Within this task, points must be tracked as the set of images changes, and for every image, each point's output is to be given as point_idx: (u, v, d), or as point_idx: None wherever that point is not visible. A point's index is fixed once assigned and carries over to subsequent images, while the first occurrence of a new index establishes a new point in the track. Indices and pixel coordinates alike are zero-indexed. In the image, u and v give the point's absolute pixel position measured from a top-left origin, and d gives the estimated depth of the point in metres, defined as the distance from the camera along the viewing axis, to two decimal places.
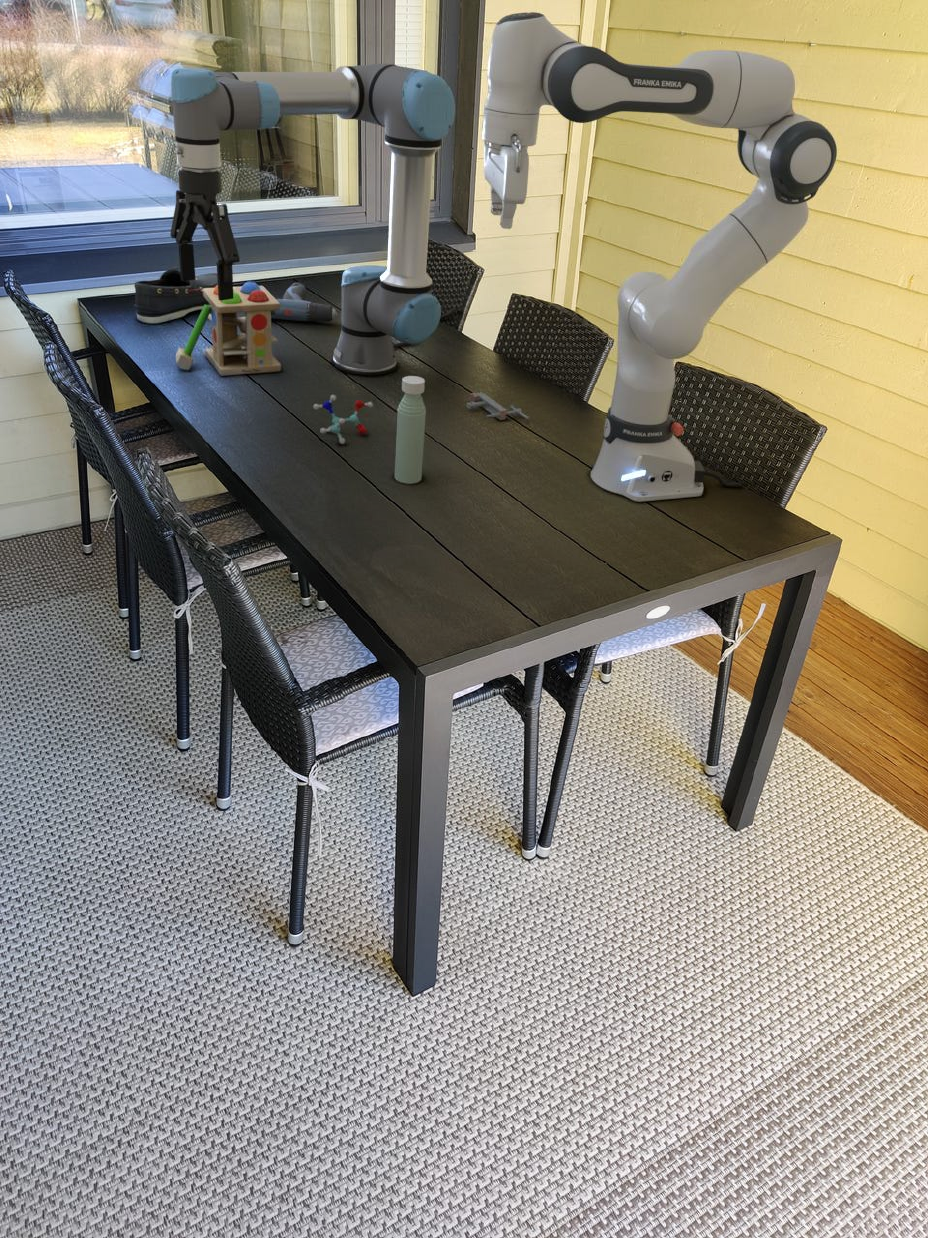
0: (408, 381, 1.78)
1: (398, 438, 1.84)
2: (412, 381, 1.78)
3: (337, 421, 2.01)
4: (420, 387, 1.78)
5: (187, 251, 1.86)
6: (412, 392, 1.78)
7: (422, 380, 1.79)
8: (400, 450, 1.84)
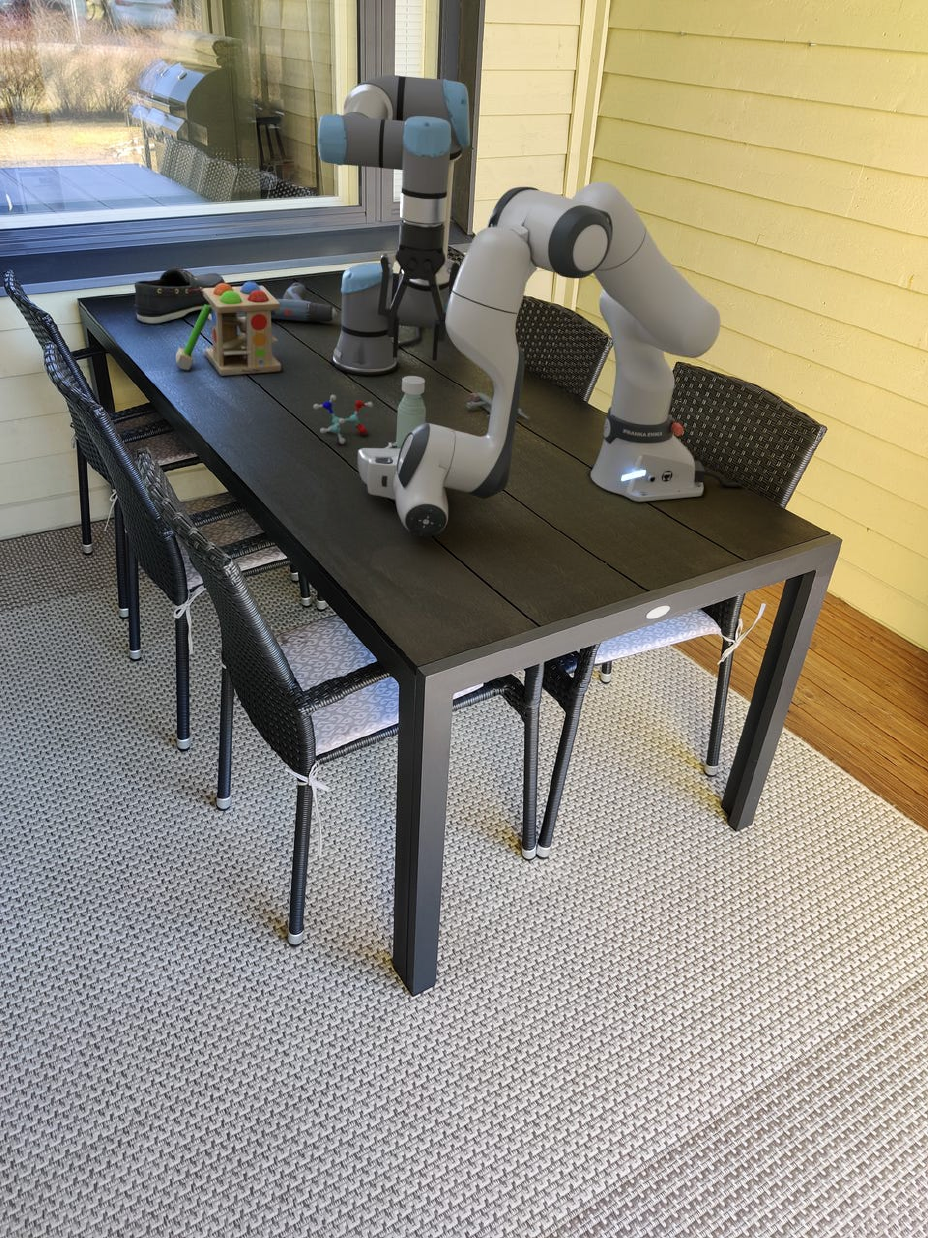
0: (408, 381, 1.78)
1: (398, 438, 1.84)
2: (412, 381, 1.78)
3: (337, 421, 2.01)
4: (420, 387, 1.78)
5: None
6: (412, 392, 1.78)
7: (422, 380, 1.79)
8: None
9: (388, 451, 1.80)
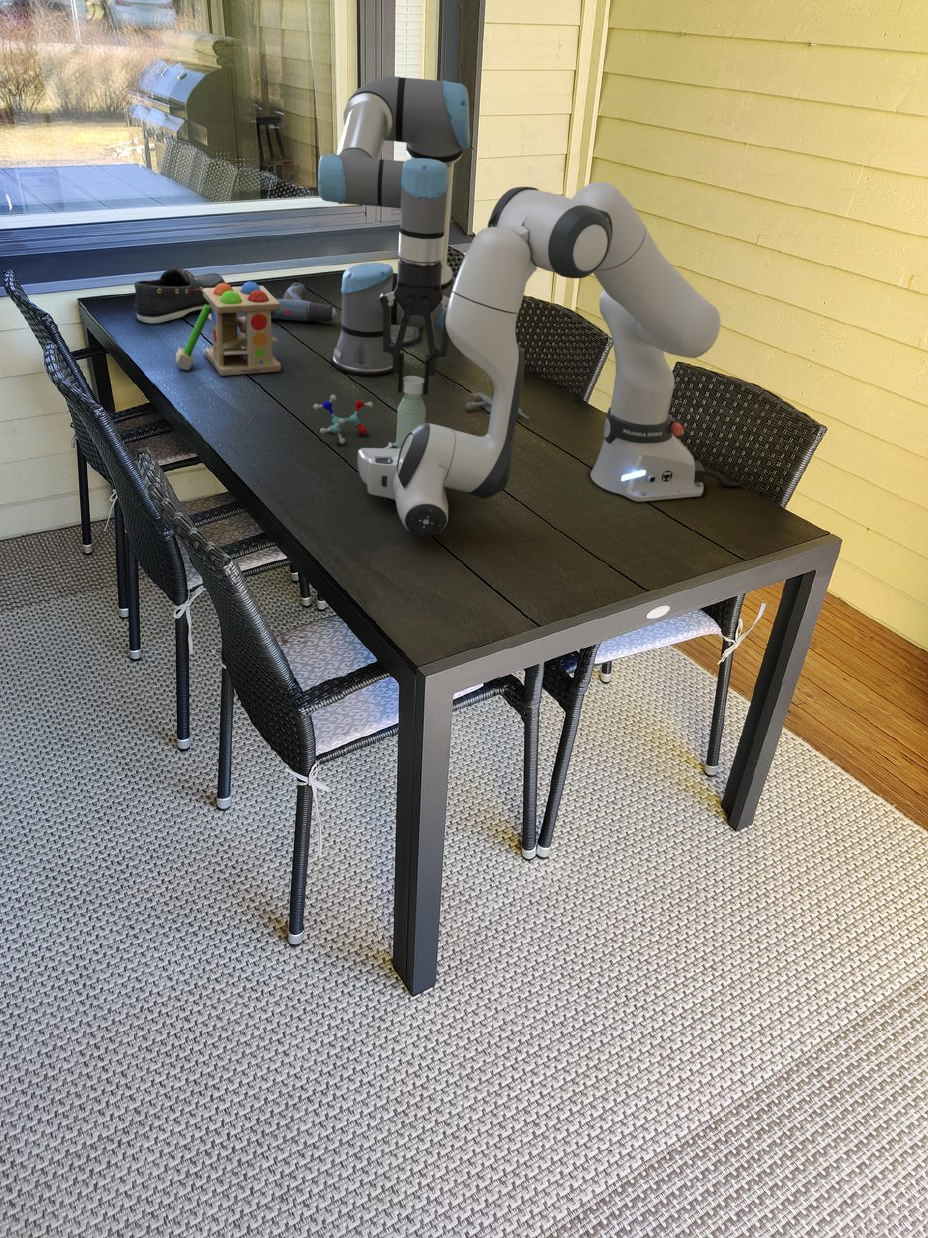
0: (408, 381, 1.78)
1: (398, 438, 1.84)
2: (412, 381, 1.78)
3: (337, 421, 2.01)
4: (420, 387, 1.78)
5: None
6: (412, 392, 1.78)
7: (422, 380, 1.79)
8: None
9: (388, 451, 1.80)
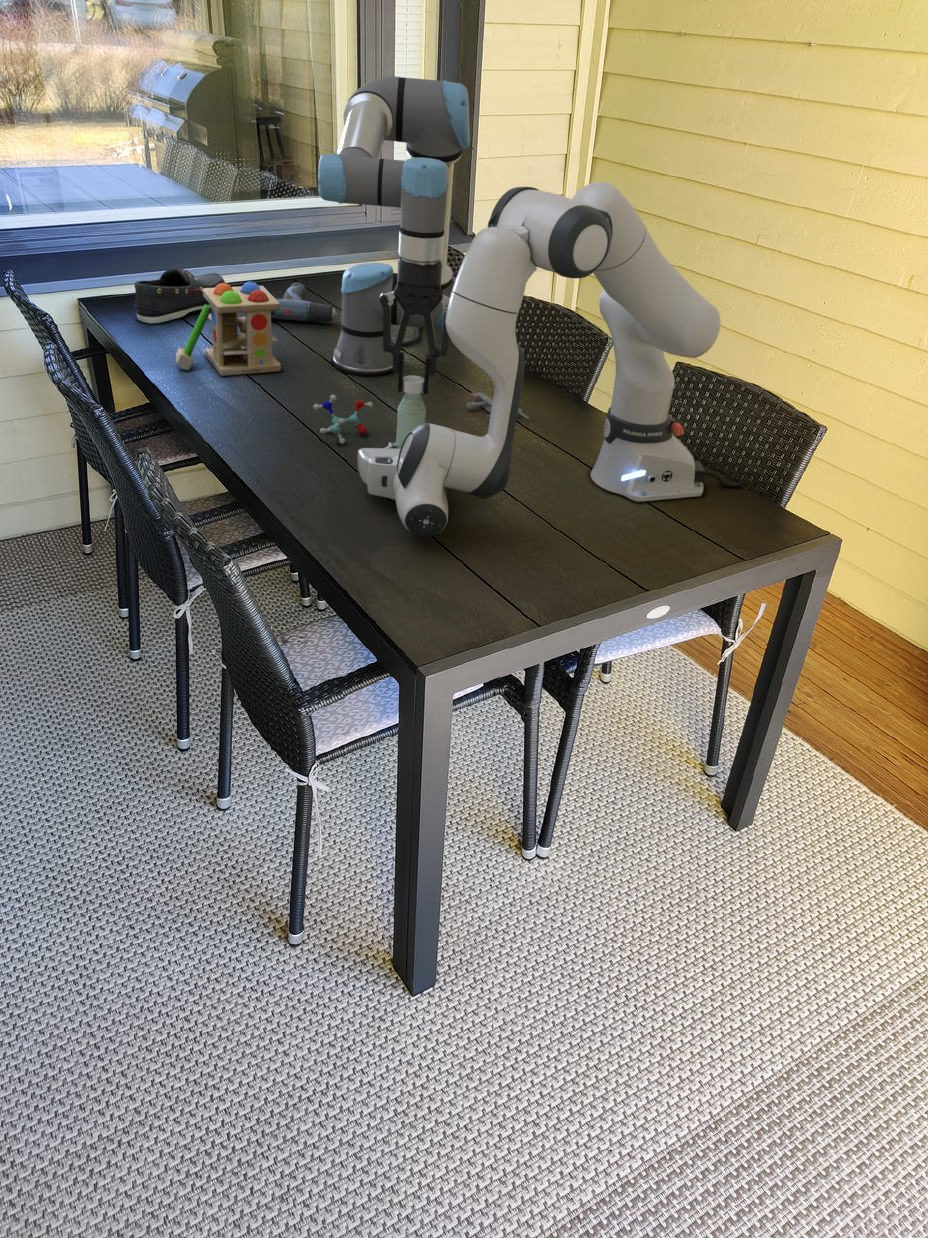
0: (419, 381, 1.78)
1: (398, 438, 1.84)
2: (418, 379, 1.79)
3: (337, 421, 2.01)
4: None
5: None
6: None
7: (412, 376, 1.80)
8: None
9: (388, 451, 1.80)
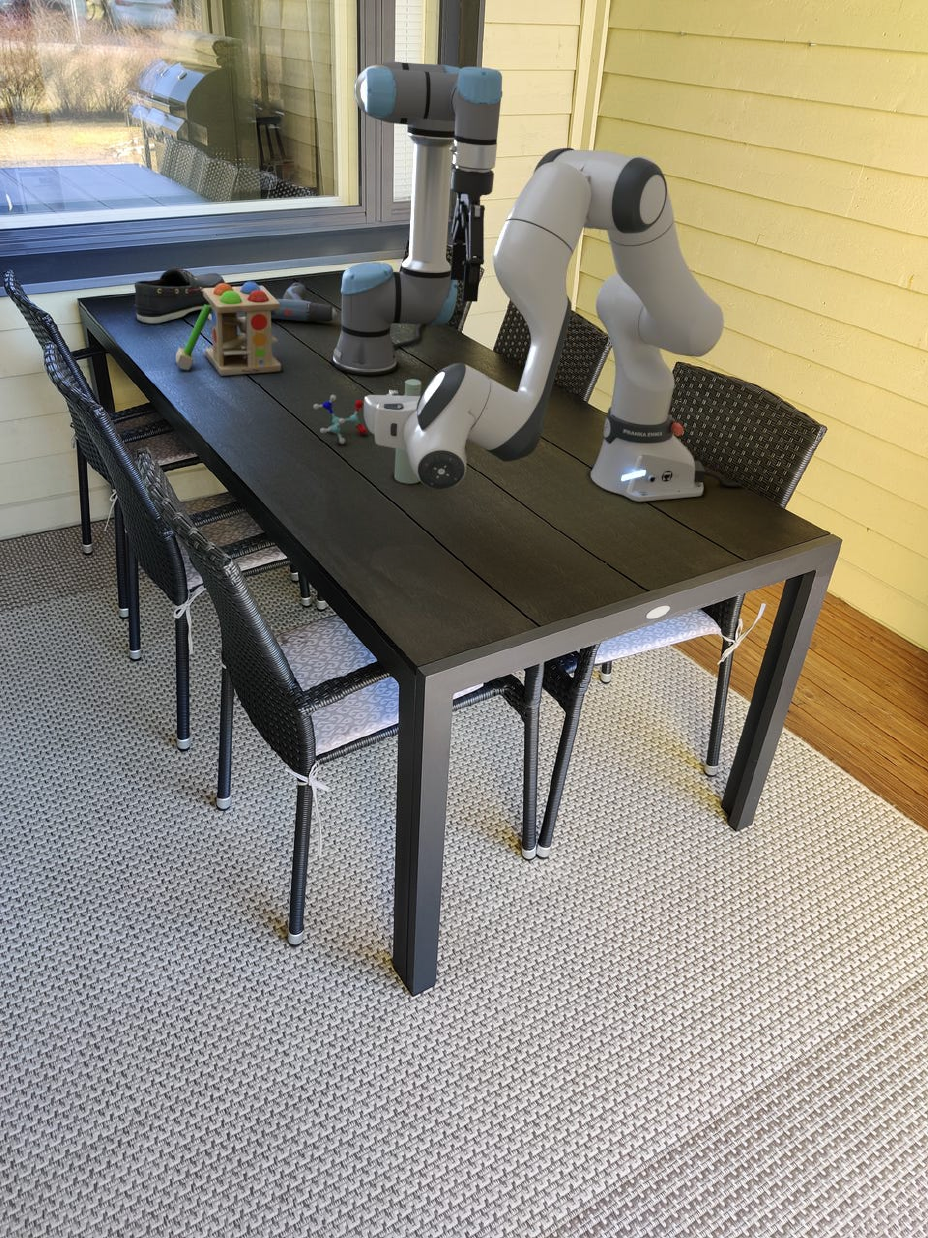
0: None
1: None
2: None
3: (337, 421, 2.01)
4: None
5: (459, 251, 1.87)
6: None
7: None
8: (400, 450, 1.84)
9: (398, 398, 1.61)
